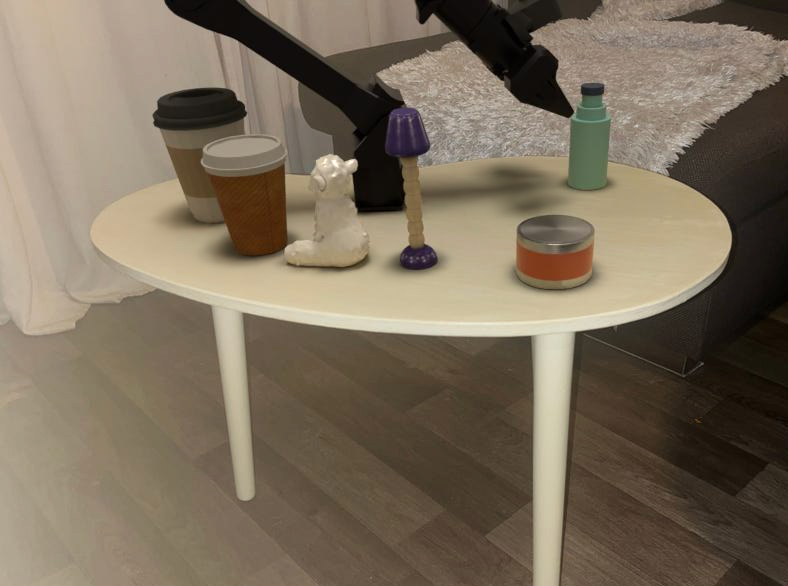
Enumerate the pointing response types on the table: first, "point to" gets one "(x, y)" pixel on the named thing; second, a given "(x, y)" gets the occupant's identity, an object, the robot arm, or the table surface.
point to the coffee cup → (198, 139)
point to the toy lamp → (411, 180)
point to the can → (554, 251)
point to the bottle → (589, 140)
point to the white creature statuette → (332, 219)
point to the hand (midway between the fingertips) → (561, 106)
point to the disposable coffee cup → (250, 190)
